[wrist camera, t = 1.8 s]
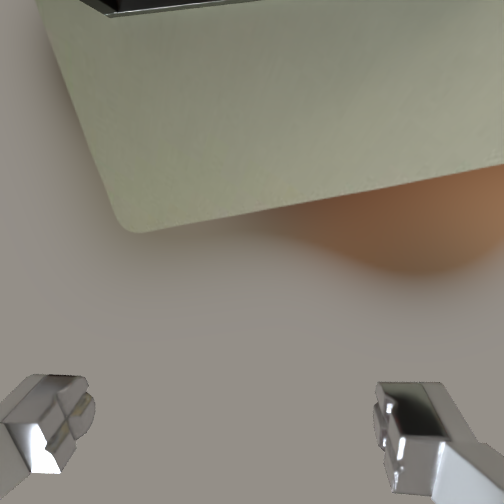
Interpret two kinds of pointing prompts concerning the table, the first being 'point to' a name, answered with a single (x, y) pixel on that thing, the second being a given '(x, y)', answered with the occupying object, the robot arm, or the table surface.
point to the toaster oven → (150, 5)
